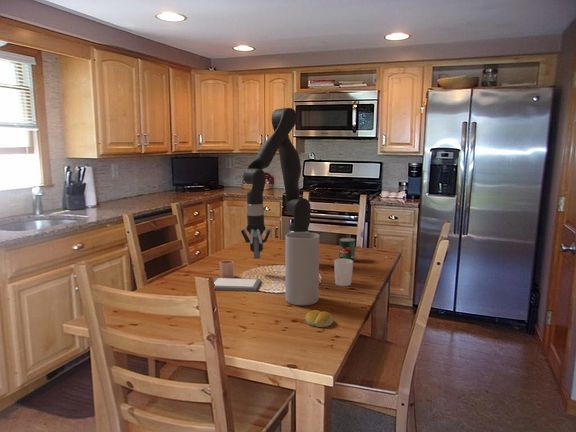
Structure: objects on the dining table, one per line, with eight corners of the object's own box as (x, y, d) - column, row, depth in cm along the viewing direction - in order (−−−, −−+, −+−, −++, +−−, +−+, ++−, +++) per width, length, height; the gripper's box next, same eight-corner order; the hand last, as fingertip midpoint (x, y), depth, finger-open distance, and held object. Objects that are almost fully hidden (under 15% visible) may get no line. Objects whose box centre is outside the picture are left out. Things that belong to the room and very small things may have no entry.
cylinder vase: (323, 297, 167) (324, 233, 163) (311, 308, 156) (311, 240, 152) (293, 293, 172) (293, 231, 168) (279, 303, 161) (279, 236, 157)
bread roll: (312, 316, 149) (313, 305, 148) (336, 321, 144) (336, 310, 144) (300, 324, 142) (300, 312, 142) (324, 330, 137) (324, 318, 137)
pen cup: (235, 275, 195) (234, 260, 194) (232, 279, 189) (231, 264, 188) (222, 275, 196) (221, 260, 195) (218, 279, 190) (218, 263, 189)
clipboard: (261, 281, 187) (261, 278, 187) (256, 291, 174) (255, 287, 174) (215, 280, 189) (215, 277, 188) (207, 289, 176) (207, 286, 176)
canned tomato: (338, 262, 219) (339, 240, 217) (339, 258, 226) (340, 237, 225) (354, 262, 217) (355, 241, 216) (355, 259, 225) (355, 238, 223)
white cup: (354, 282, 186) (354, 259, 185) (350, 287, 179) (351, 264, 177) (336, 280, 189) (336, 257, 187) (331, 285, 181) (332, 262, 180)
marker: (260, 257, 198) (260, 229, 196) (259, 258, 195) (258, 230, 193) (254, 257, 198) (253, 229, 196) (253, 258, 195) (252, 230, 193)
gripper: (272, 212, 196) (273, 249, 199) (241, 212, 197) (242, 249, 200) (270, 215, 189) (271, 253, 192) (238, 215, 190) (239, 253, 193)
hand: (256, 251), depth 196 cm, fingers closed on marker, 3 cm apart
